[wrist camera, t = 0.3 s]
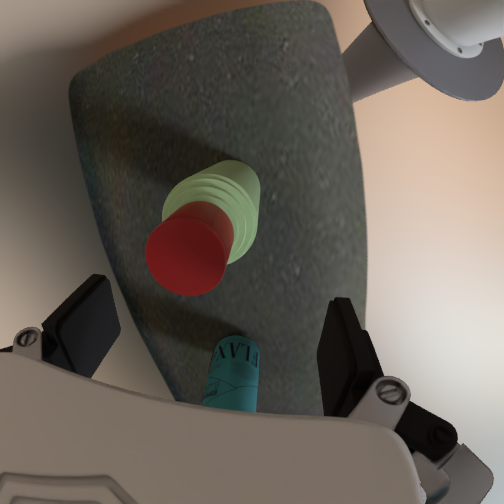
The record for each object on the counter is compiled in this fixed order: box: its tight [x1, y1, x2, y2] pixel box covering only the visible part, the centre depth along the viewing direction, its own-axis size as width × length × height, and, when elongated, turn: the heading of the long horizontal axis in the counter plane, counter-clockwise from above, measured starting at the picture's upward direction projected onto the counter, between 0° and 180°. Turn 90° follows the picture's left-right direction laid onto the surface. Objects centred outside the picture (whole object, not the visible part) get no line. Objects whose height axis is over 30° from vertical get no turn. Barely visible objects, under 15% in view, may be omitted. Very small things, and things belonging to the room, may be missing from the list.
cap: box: [145, 201, 234, 296], centre depth 14 cm, size 4×4×4 cm
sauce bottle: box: [162, 160, 260, 264], centre depth 21 cm, size 6×6×18 cm
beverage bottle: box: [200, 336, 261, 412], centre depth 29 cm, size 6×7×20 cm
